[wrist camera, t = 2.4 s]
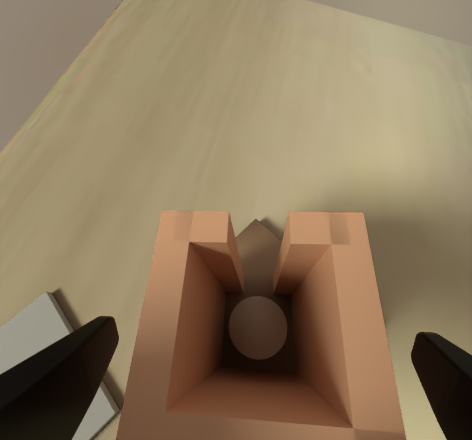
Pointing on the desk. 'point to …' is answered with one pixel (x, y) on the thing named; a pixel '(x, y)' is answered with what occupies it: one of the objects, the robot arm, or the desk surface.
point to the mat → (41, 336)
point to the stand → (258, 309)
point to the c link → (252, 380)
